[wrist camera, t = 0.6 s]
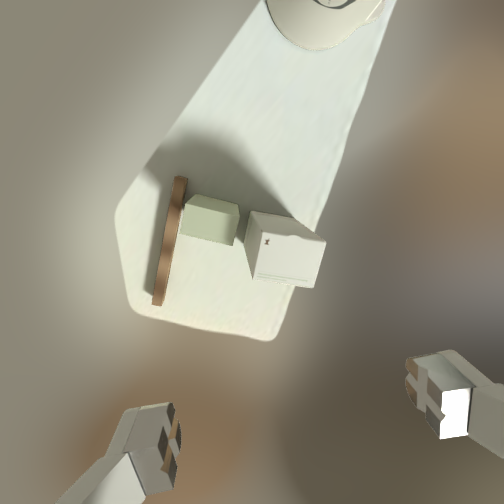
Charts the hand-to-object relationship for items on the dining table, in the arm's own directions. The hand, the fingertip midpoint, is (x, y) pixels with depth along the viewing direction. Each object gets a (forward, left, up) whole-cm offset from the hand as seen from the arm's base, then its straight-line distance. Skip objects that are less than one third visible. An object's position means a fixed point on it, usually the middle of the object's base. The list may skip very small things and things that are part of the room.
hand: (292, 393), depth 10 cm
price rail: (+9, -11, -39) cm, 42 cm away
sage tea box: (+2, -5, -39) cm, 40 cm away
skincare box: (+3, +5, -40) cm, 40 cm away
